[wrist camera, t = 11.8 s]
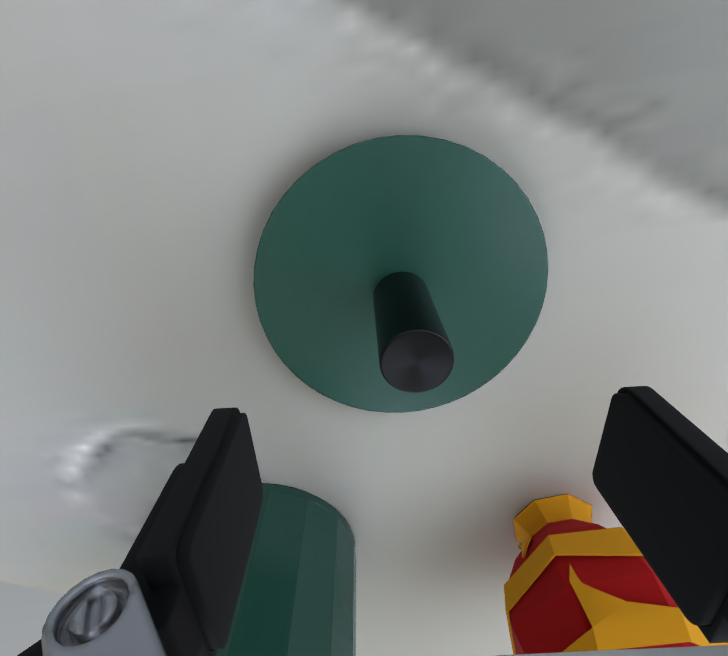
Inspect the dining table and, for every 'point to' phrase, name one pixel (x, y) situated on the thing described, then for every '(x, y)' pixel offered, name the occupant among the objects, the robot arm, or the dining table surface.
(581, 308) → the dining table surface
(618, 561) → the potion bottle
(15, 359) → the dining table surface
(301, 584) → the green tube
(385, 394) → the green disc with handle
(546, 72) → the dining table surface
